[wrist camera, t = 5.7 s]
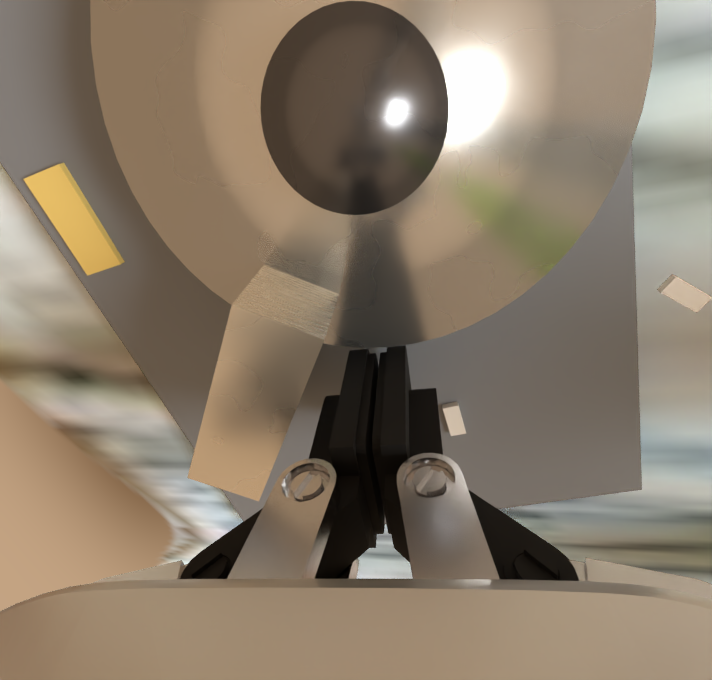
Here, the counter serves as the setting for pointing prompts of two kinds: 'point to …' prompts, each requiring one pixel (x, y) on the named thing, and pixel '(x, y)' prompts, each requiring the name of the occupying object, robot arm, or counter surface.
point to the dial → (360, 170)
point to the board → (425, 359)
